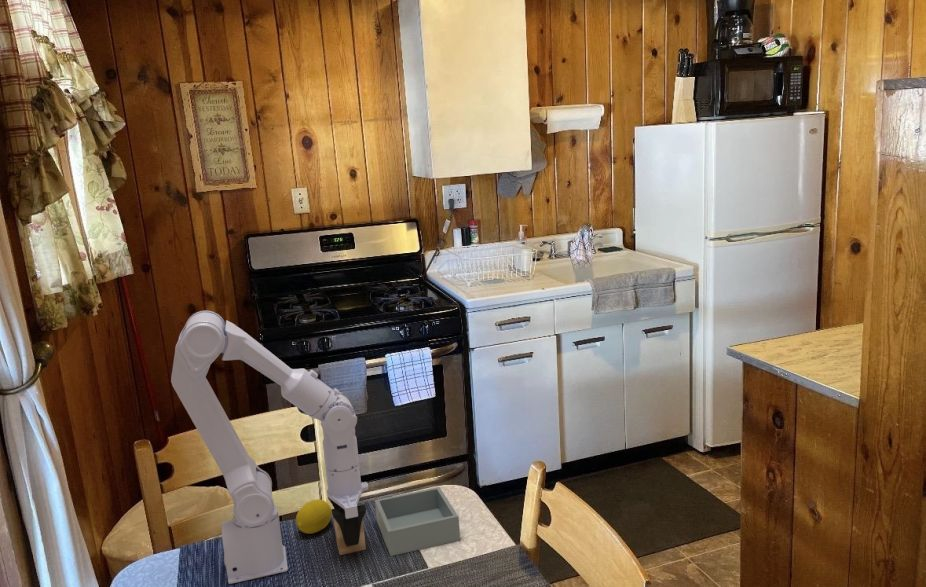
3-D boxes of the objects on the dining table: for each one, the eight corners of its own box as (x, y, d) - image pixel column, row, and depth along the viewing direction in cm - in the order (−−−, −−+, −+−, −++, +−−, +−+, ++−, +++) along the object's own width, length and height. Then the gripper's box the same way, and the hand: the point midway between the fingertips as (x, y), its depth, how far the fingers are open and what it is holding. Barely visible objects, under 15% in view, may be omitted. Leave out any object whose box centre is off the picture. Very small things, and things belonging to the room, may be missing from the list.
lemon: (334, 490, 131) (304, 510, 125) (344, 518, 132) (314, 539, 125) (314, 494, 134) (283, 513, 128) (323, 521, 135) (293, 542, 128)
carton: (339, 555, 121) (336, 523, 120) (336, 542, 125) (332, 511, 124) (365, 549, 122) (362, 517, 121) (361, 537, 127) (358, 506, 126)
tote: (390, 556, 120) (388, 531, 119) (377, 522, 131) (374, 499, 131) (460, 540, 123) (458, 516, 122) (441, 508, 135) (439, 486, 134)
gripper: (372, 477, 115) (380, 553, 118) (358, 445, 129) (365, 513, 132) (329, 485, 113) (337, 562, 116) (319, 452, 127) (327, 521, 130)
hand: (350, 537), depth 124 cm, fingers closed on carton, 4 cm apart
